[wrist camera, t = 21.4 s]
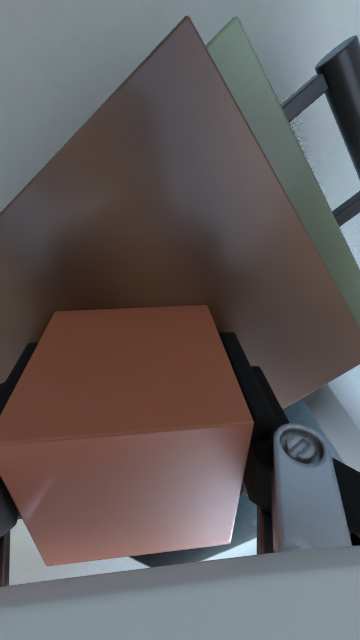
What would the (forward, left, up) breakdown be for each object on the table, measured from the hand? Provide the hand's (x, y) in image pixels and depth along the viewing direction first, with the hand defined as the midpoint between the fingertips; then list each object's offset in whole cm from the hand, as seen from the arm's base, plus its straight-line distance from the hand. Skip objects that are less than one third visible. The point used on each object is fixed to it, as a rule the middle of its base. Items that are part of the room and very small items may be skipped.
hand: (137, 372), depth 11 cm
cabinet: (0, 0, -10) cm, 10 cm away
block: (0, 0, 0) cm, 0 cm away
